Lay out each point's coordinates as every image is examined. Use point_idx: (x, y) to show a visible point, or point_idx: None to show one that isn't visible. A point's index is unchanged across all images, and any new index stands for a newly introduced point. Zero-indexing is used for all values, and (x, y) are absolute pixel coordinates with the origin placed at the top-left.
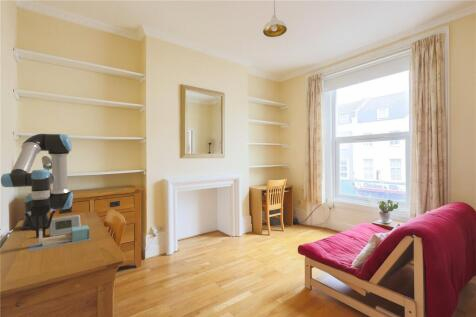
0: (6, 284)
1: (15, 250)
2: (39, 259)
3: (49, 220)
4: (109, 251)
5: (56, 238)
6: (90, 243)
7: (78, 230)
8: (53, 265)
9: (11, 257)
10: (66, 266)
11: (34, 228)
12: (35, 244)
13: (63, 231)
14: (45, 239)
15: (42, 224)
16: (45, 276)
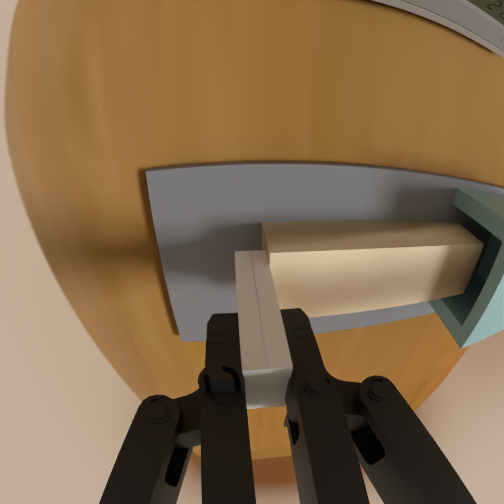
0: (200, 454)
1: (81, 237)
2: (249, 410)
3: (392, 499)
4: (414, 402)
5: (370, 308)
6: (444, 333)
7: (481, 337)
8: (284, 437)
9: (122, 350)
10: None
11: (190, 443)
12: (199, 195)
13: (449, 12)
14: (292, 304)
15: (298, 483)
16: (264, 455)
